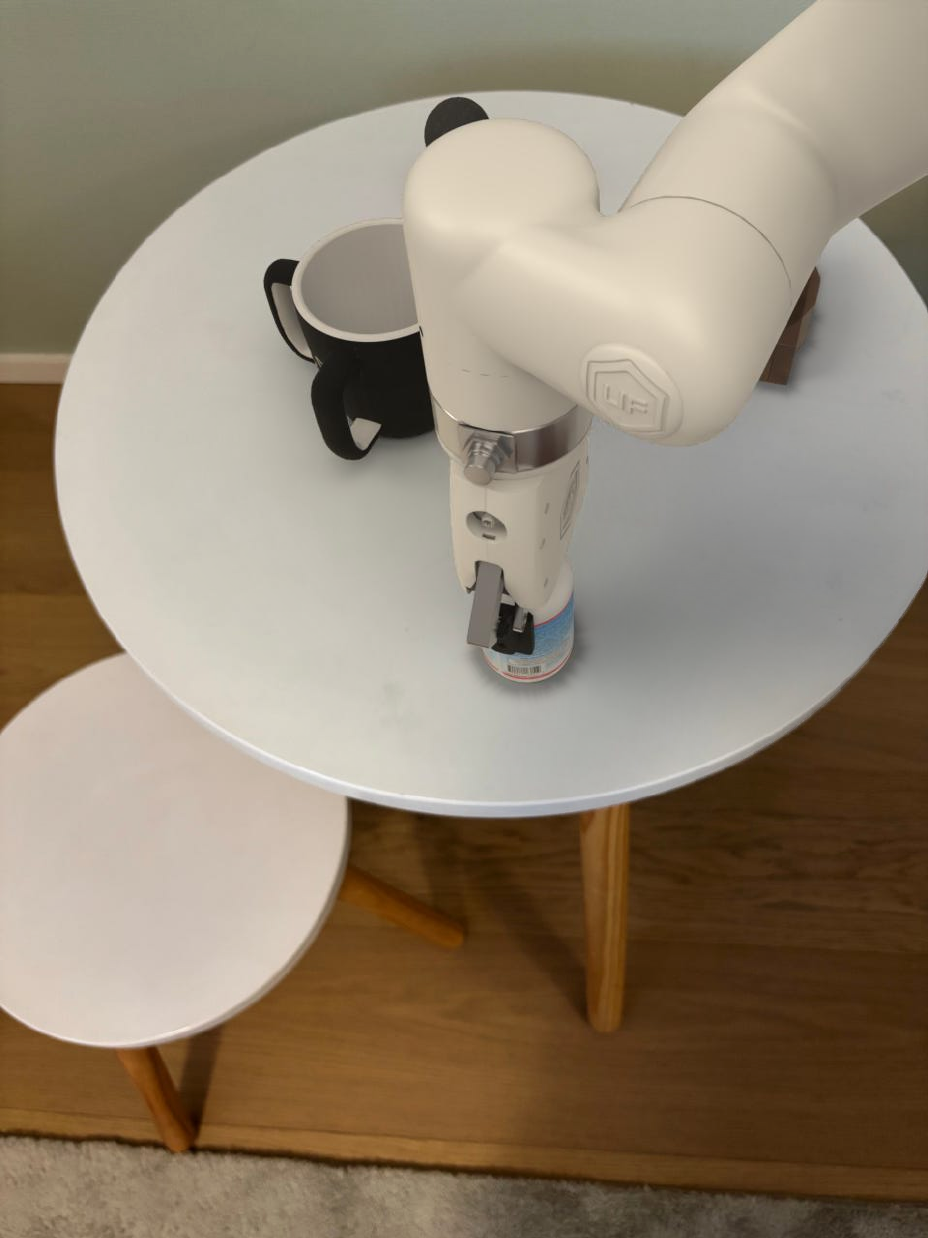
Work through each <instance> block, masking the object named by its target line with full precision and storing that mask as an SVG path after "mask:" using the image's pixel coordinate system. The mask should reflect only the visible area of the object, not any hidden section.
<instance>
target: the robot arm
mask: <svg viewBox="0 0 928 1238" xmlns="http://www.w3.org/2000/svg"><path fill="white" fill-rule="evenodd" d="M927 176H928V0H815V1H814V2H813V3H812V4H811V5H809V6H808V7H807V8H806V9H805V10H804V11H801V13H800V14H799V15H798V16H796V17H795V18H794V19H793V20H792V21H790V22H789V23H788V24H787V25H786V26H784V27H783V28H782V29H781V30H779V31H778V32H777V33H776V34H774V36H773V37H771V38H770V39H768V41H766V43H765V44H763V45H762V46H761V47H759V49H757V50H756V51H755V52H754V53H753V54H752V55H750V56H749V57H748V58H747V59H746V60H744V61H743V62H742V63H740V65H738V67H736V68H735V69H734V70H733V71H731V72H730V73H729V74H728V75H727V76H725V78H723V80H721V81H720V82H719V83H718V84H717V85H716V86H714V87H713V89H711V90H710V91H709V92H708V93H707V94H706V95H705V96H704V97H702V98H701V99H700V101H698V102H697V103H696V105H694V106H693V108H691V109H690V111H688V112H687V114H686V115H685V116H684V117H683V118H682V119H681V120H680V121H679V122H678V124H676V126H675V127H674V129H673V130H672V131H671V132H670V133H669V135H668V136H667V138H666V139H665V140H664V142H663V143H662V145H661V146H660V147H659V149H658V150H657V151H656V153H655V154H654V156H653V158H652V159H651V160H650V162H649V163H648V164H647V166H646V167H645V169H644V170H643V172H642V173H641V175H640V177H639V178H638V179H637V181H636V183H635V184H634V186H633V187H632V189H631V190H630V192H629V194H628V195H627V197H626V198H625V200H624V201H623V203H622V204H621V206H620V208H619V209H618V211H617V212H616V213H614V214H611V215H606V214H603V213H601V191H600V186H599V181H598V177H597V172H596V170H595V168H594V166H593V164H592V161H591V160H590V158H589V156H588V154H587V153H586V152H585V151H584V150H583V148H582V147H581V146H580V145H579V144H578V143H577V141H576V140H574V139H573V138H571V136H569V135H568V134H567V133H564V132H563V131H561V130H559V129H558V128H555V127H553V126H550V125H548V124H545V123H541V122H539V121H535V120H530V119H525V118H516V117H496V118H489V119H487V120H480V121H476V122H472V123H469V124H466V125H463V126H461V127H458V128H456V129H454V130H452V131H450V132H448V133H446V134H444V135H443V136H441V137H440V138H438V139H436V140H435V141H433V142H432V143H431V144H430V145H429V146H428V147H426V146H425V148H424V149H423V150H422V151H421V152H420V154H419V155H418V156H417V157H416V159H415V160H414V161H413V163H412V165H411V167H410V169H409V171H408V173H407V175H406V178H405V182H404V185H403V188H402V193H401V207H400V208H401V218H402V219H403V229H404V236H405V242H406V248H407V255H408V261H409V267H410V273H411V280H412V286H413V292H414V298H415V305H416V311H417V317H418V323H419V330H420V336H421V342H422V348H423V355H424V361H425V367H426V373H427V380H428V385H429V392H430V398H431V404H432V410H433V417H434V423H435V427H434V429H435V434H436V436H437V440H438V442H439V444H440V446H441V448H442V449H443V451H444V452H445V453H446V454H447V456H448V457H449V504H450V505H449V508H450V509H449V511H450V527H451V528H450V529H451V538H452V541H451V542H452V549H453V557H454V558H453V559H454V564H455V571H456V573H457V574H456V575H457V577H458V581H459V583H460V586H461V587H462V589H463V590H464V592H465V593H466V594H468V595H470V594H471V593H472V592H473V591H475V593H473V600H472V604H471V605H472V606H471V611H470V618H469V622H468V623H469V624H468V627H467V628H468V629H467V635H466V645H469V646H473V647H477V648H481V649H483V648H485V649H490V648H491V649H492V650H494V651H496V652H499V653H503V654H507V655H513V654H515V652H517V653H521V654H525V655H532V653H533V650H534V647H535V637H534V616H533V615H532V614H531V613H530V612H528V609H533V610H538V609H540V608H541V607H543V606H544V605H545V604H546V603H547V602H548V601H549V599H550V597H551V594H552V592H553V589H554V587H555V584H556V581H557V578H558V575H559V572H560V569H561V566H562V563H563V560H564V558H565V556H566V554H567V552H568V548H569V546H570V542H571V539H572V537H573V533H574V530H575V527H576V525H577V524H576V523H577V520H578V518H579V514H580V511H581V508H582V504H583V501H584V498H585V495H586V491H587V486H588V481H589V469H590V468H589V466H590V465H589V437H590V433H591V430H592V427H593V421H594V420H593V419H594V416H595V417H597V418H598V419H600V420H601V421H603V422H605V423H606V424H608V425H610V426H612V427H613V428H615V429H617V430H619V431H621V432H622V433H624V434H627V435H629V436H632V437H633V438H637V439H639V440H642V441H644V442H648V443H651V444H654V445H659V446H664V447H671V448H684V447H691V446H698V445H700V444H702V443H705V442H708V441H711V440H712V439H714V438H715V437H717V436H718V435H720V434H722V433H723V432H724V431H725V430H726V429H727V428H729V426H731V425H732V423H733V422H734V421H735V420H736V419H737V418H738V416H739V415H740V414H741V412H742V410H743V409H744V408H745V407H746V405H747V403H748V401H749V399H750V397H751V396H752V394H753V392H754V389H755V388H756V386H757V384H758V382H759V381H758V380H759V378H760V376H761V374H762V372H763V370H764V368H765V366H766V364H767V362H768V360H769V358H770V356H771V354H772V352H773V350H774V348H775V346H776V344H777V342H778V340H779V338H780V336H781V334H782V332H783V330H784V328H785V326H786V324H787V321H788V319H789V317H790V315H791V313H792V311H793V309H794V307H795V305H796V303H797V301H798V299H799V297H800V295H801V293H802V291H803V289H804V287H805V285H806V283H807V281H808V279H809V277H810V275H811V273H812V271H813V270H814V268H815V266H816V267H817V264H818V262H819V260H820V258H821V256H822V254H823V252H824V250H825V249H826V247H827V245H828V243H829V241H830V240H831V239H832V238H833V237H834V236H835V235H836V234H837V233H839V232H840V231H841V230H842V229H844V228H845V227H846V226H848V225H849V224H851V223H852V222H853V221H854V220H856V219H858V218H859V217H861V216H862V215H863V214H865V213H866V212H868V211H870V210H871V209H874V208H875V207H876V206H878V205H880V204H882V203H883V202H884V201H886V200H888V199H889V198H891V197H892V196H894V195H896V194H898V193H899V192H901V191H902V190H904V189H906V188H908V187H910V186H911V185H913V184H914V183H916V182H918V181H919V180H922V179H924V178H925V177H927ZM502 593H503V594H507V595H510V596H511V597H512V598H513V599H514V601H515V606H514V605H509V604H505V603H501V599H502Z"/></svg>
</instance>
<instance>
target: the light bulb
mask: <svg viewBox="0 0 928 1238" xmlns="http://www.w3.org/2000/svg"><path fill="white" fill-rule="evenodd" d="M487 119H490V117H489V115H488V113H487V112H486V111H485V109H484V108H483V107H482V106H481V105H480V104H479V103H477V102H476V101H475V100H473V99H471V98H468V97H464V96H451V97H449V98H445V99H444V100H442V101H440V102H439V103H437V105H435V107H433V109H431V112H430V113H429V114H428V117H427V119H426V122H425V125H424V132H423V137H424V138H423V140H424V144H425V148H426V147H428V146H429V145H430V144H431V143H432V142H433V141H435V140H436V139H438V138H440V137H441V136H443V135H444V134H446V133H448V132H450V131H452V130H454V129H456V128H458V127H461V126H463V125H466V124H469V123H472V122H476V121H480V120H487Z"/></svg>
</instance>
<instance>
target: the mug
mask: <svg viewBox="0 0 928 1238" xmlns="http://www.w3.org/2000/svg"><path fill="white" fill-rule="evenodd" d="M262 282H263V290H264V293H265V294H264V295H265V298H266V301H267V303H268V307H269V310H270V312H271V315H272V317H273V321H274V324H275V326H276V328H277V330H278V333H279V334H280V336H281V337H282V339H283V340H284V342H285V344H286V345H287V347H288V348H290V350H291V351H292V352H293V353H294V354H295V355H296V356H297V357H299V358H301V359H302V360H304V361H305V362H309V363H312V364H314V365H316V367H317V369H318V371H317V373H316V374H315V376H314V378H313V379H312V383H311V386H310V387H311V388H310V389H311V390H310V398H311V399H310V400H311V405H312V409H313V412H314V416H315V419H316V423H317V426H318V428H319V431H320V434H321V437H322V439H323V442H324V443H325V445H326V447H327V449H329V450H330V451H331V452H332V453H333V454H334V455H336V456H337V457H339V458H341V459H343V460H346V461H359V460H362V459H363V458H365V457H366V456H367V455H368V454H369V453H370V452H371V450H372V448H373V447H374V446H375V444H376V442H377V441H378V439H379V437H383V438H391V439H392V438H393V439H401V438H402V439H403V438H410V437H415V436H417V435H421V434H424V433H426V432H428V431H431V430H432V429H435V423H434V417H433V410H432V404H431V398H430V392H429V385H428V380H427V373H426V367H425V361H424V355H423V348H422V342H421V336H420V330H419V323H418V317H417V311H416V305H415V298H414V292H413V286H412V280H411V273H410V267H409V261H408V255H407V248H406V242H405V236H404V229H403V219H402V217H378V218H370V219H365V220H362V221H357V222H354V223H350V224H348V225H345V226H343V227H340V228H338V229H335V230H334V231H332V232H331V233H328V234H327V235H325V236H323V237H322V238H321V239H319V240H318V241H316V243H315V244H313V245H312V246H310V248H309V249H308V250H307V251H306V252H305V254H304V255H303V256H302V257H301V258H300V260H296V259H290V258H283V257H282V258H278V259H276V260H274V261H273V262H270V264H269V265H268V267H267V268H266V269H265V272H264V275H263V280H262ZM348 418H349V419H350V421H351V422H352V424H351V425H350V424H349V419H348Z"/></svg>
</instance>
